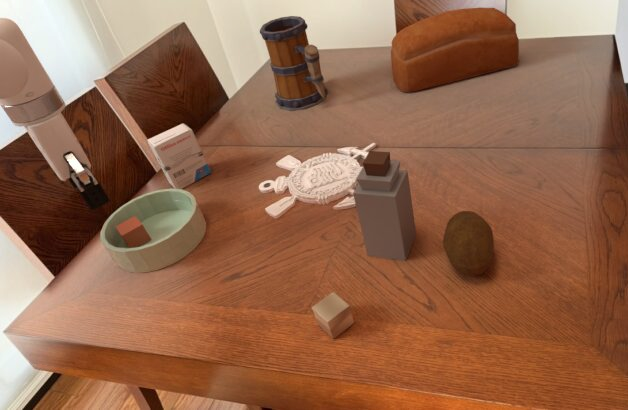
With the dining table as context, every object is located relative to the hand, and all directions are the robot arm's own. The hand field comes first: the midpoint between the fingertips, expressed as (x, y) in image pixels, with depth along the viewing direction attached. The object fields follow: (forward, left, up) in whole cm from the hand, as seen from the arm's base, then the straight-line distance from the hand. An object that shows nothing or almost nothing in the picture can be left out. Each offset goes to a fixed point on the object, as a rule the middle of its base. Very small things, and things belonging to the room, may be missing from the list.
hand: (91, 194), depth 86 cm
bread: (+90, -1, -14) cm, 91 cm away
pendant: (+38, -12, -14) cm, 42 cm away
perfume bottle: (+34, -37, -14) cm, 52 cm away
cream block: (+17, -43, -14) cm, 49 cm away
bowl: (+6, -1, -14) cm, 15 cm away
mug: (+57, +22, -14) cm, 63 cm away
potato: (+40, -49, -14) cm, 65 cm away
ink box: (+19, +14, -14) cm, 28 cm away
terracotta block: (+2, +1, -14) cm, 14 cm away
